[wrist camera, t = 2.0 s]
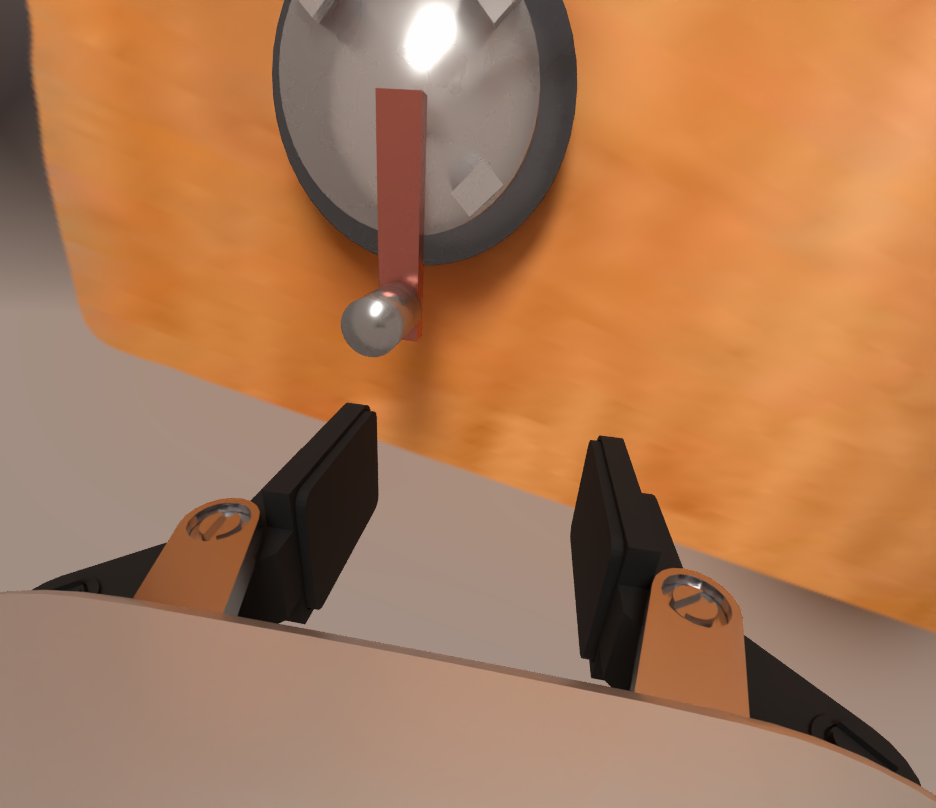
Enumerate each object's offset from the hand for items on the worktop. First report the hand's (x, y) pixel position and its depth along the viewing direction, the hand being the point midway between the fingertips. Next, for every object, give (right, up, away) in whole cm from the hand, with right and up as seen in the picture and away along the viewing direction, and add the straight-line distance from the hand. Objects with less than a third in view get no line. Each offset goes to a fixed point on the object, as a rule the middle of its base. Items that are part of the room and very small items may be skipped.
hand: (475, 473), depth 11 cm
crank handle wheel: (-3, +16, +16) cm, 23 cm away
